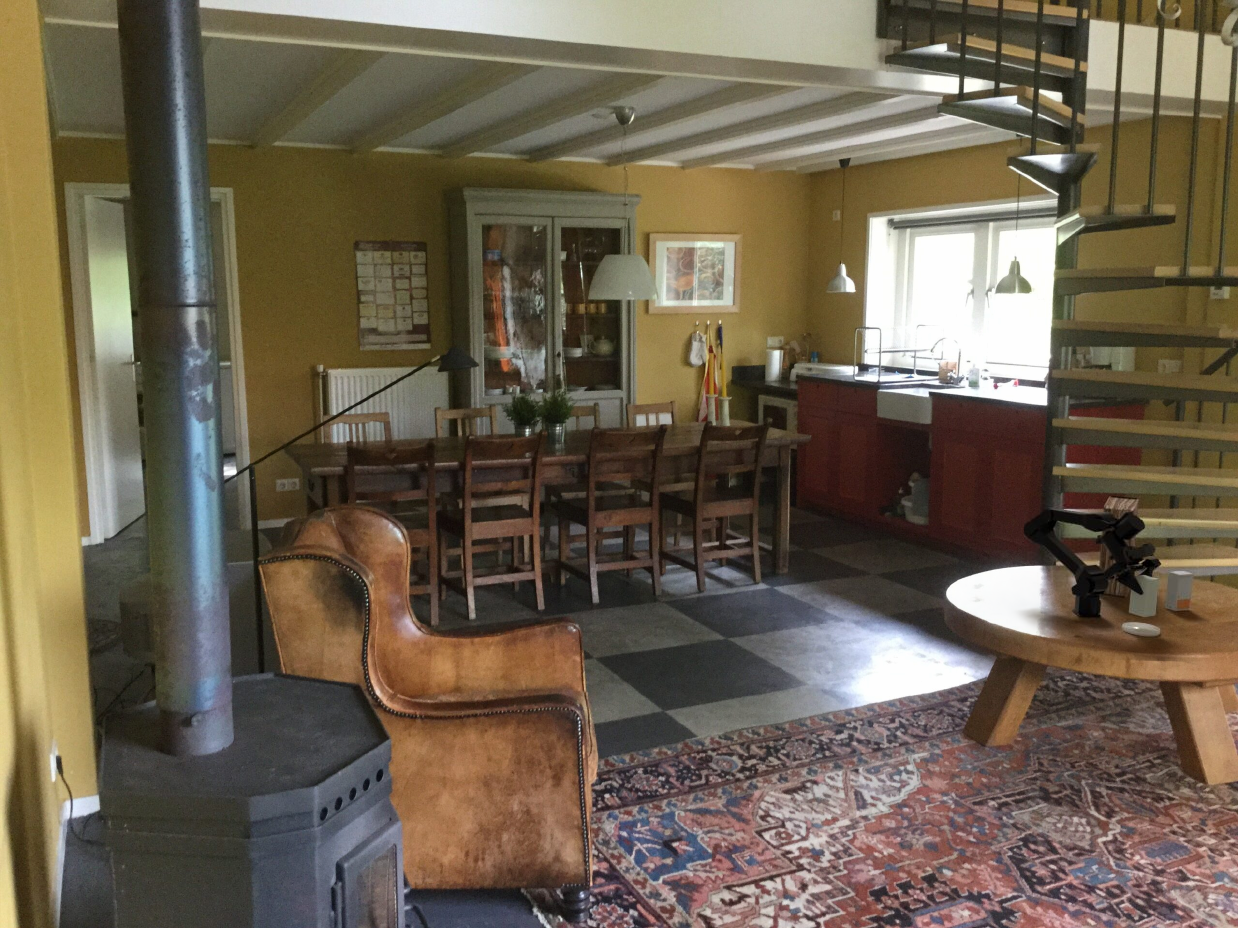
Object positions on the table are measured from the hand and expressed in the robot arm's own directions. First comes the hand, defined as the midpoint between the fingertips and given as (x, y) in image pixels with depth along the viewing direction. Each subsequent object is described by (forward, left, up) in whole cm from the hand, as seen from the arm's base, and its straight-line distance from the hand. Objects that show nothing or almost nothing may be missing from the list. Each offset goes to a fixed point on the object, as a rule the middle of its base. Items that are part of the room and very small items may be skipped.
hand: (1148, 593), depth 304 cm
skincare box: (+22, +26, -12) cm, 36 cm away
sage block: (-1, +1, -7) cm, 7 cm away
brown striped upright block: (+13, +51, -12) cm, 54 cm away
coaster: (-1, +1, -12) cm, 12 cm away
